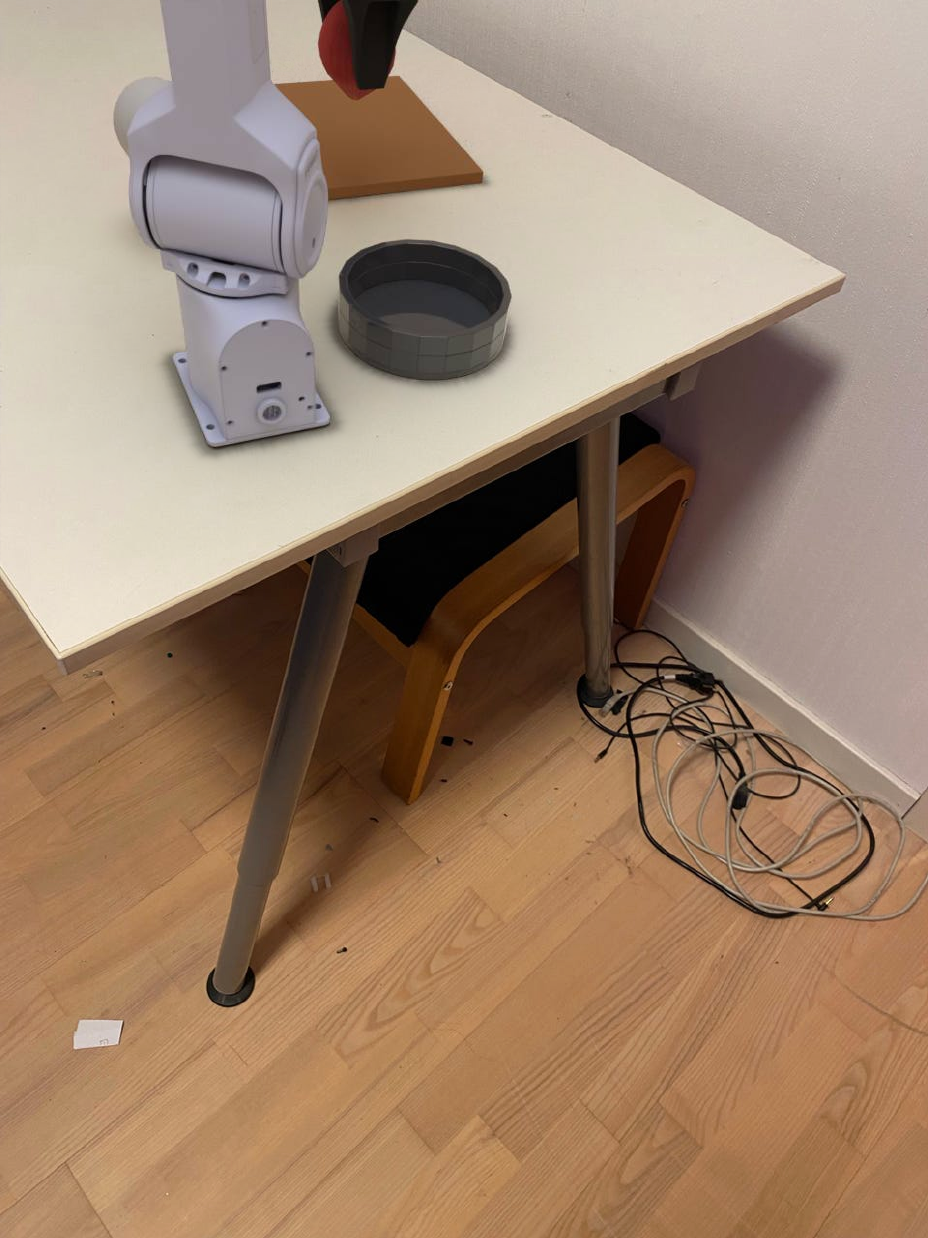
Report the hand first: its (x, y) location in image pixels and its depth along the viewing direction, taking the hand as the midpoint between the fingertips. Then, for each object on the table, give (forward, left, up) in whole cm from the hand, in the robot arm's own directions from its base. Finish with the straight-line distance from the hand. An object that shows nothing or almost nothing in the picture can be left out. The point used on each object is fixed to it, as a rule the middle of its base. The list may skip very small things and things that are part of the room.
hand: (355, 69), depth 71 cm
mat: (+9, -4, -10) cm, 14 cm away
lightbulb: (-3, +16, -10) cm, 19 cm away
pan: (-20, +2, -10) cm, 22 cm away
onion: (0, 0, -2) cm, 2 cm away
